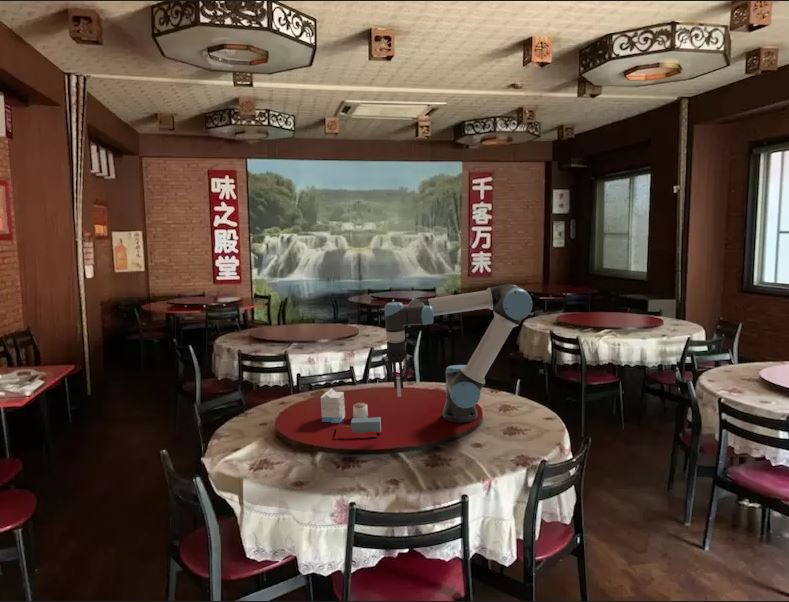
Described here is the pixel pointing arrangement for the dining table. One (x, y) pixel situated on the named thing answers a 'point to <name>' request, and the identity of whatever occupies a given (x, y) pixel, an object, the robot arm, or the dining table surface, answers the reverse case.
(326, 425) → the dining table surface
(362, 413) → the white ceramic teacup
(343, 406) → the ink box
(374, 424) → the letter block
